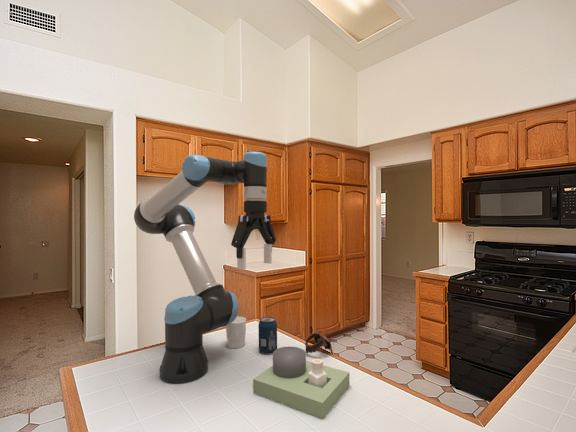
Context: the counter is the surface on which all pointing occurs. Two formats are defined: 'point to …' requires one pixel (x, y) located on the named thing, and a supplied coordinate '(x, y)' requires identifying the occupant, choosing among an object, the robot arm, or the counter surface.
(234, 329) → the white cup
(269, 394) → the green knob base
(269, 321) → the soda can
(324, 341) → the dark brown open frame
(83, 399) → the counter surface
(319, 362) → the pepper shaker
